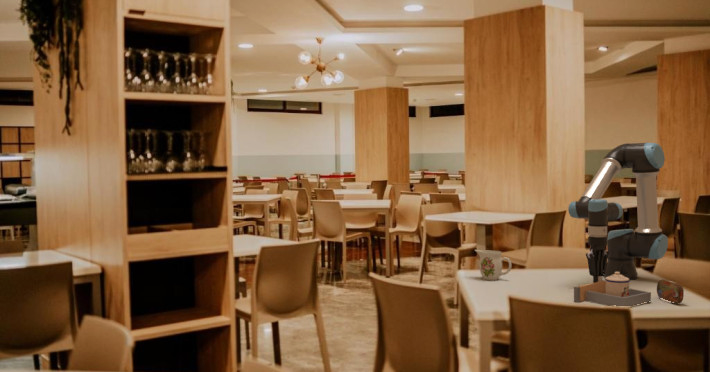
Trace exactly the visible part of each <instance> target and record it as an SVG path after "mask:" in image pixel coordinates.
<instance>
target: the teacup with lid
mask: <svg viewBox="0 0 710 372" xmlns="http://www.w3.org/2000/svg"><path fill="white" fill-rule="evenodd" d="M630 280H631V279H630ZM630 280H629V278H627V277H624V276H623V275H621V274H620V272H615V274H613V275H611V276H608V277H605V280H604V281H606V294H608V295H613V296H618V297H627V296H629V289H630Z"/></svg>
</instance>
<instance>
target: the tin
mask: <svg viewBox="0 0 710 372" xmlns="http://www.w3.org/2000/svg"><path fill="white" fill-rule="evenodd" d="M684 292H685V291H684V288H683V286H682V285H681V284H680V283H679V282H677V281H676V282H675V281H673V280H672V281H671V280H668V279H660V280H659V281H658V282H657V284H656V293H657V297H658V298H659V299H660V298H663V299H665V300H668V301H671V302H674V303H679V304H681V303H682V302H683V300H684Z"/></svg>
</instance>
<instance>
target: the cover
mask: <svg viewBox="0 0 710 372" xmlns="http://www.w3.org/2000/svg"><path fill="white" fill-rule="evenodd" d="M577 287H580V302H583V301H586V291H592V292H597V293H602V294H606V280H602V281H600V282H595V283H593V282H592V283H587V284H583V285H578V286H577ZM580 302H579V303H580Z"/></svg>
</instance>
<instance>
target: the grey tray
mask: <svg viewBox="0 0 710 372" xmlns="http://www.w3.org/2000/svg"><path fill="white" fill-rule="evenodd" d="M651 294H652V293H651V291H645V290H640V289H633V288H629V296H627V297H618V296H613V295H608V294H602V293H597V292H592V291H586V300H585V302H591V303H596V304H601V305H606V306H609V305H616V306H633V305H637V304H641V303H644V302H649V301H651V302H652V295H651ZM573 303H580V287H578V286H573ZM649 303H650V302H649ZM641 305H642V304H641ZM637 306H638V305H637ZM633 307H634V306H633Z"/></svg>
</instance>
